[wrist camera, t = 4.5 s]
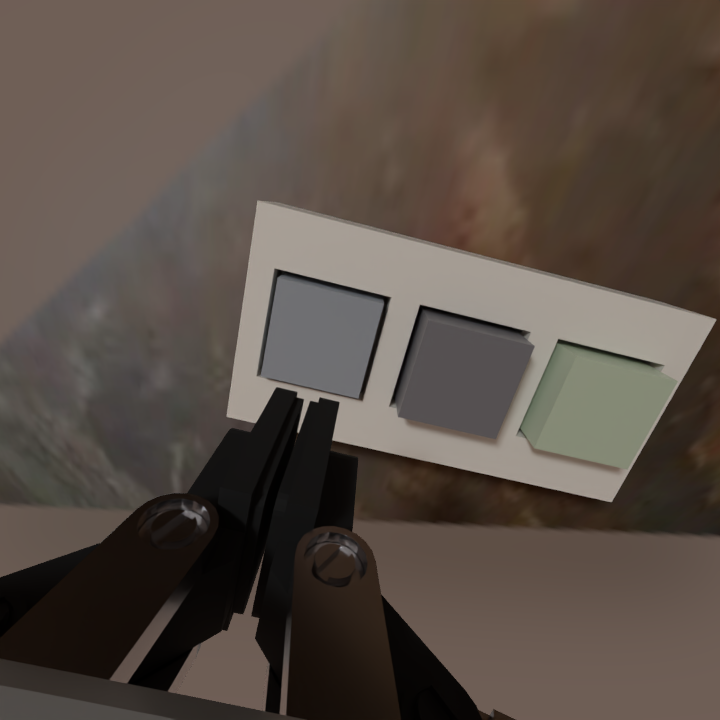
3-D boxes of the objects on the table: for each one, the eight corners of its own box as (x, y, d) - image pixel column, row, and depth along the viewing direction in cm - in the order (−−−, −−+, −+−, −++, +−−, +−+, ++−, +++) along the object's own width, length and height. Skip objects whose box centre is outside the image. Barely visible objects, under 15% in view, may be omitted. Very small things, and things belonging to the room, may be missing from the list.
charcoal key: (512, 327, 21) (535, 346, 18) (480, 410, 23) (495, 439, 20) (420, 304, 21) (428, 319, 18) (394, 391, 22) (397, 417, 20)
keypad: (659, 301, 23) (716, 319, 19) (577, 461, 27) (611, 502, 23) (277, 202, 21) (257, 200, 18) (247, 385, 25) (226, 416, 21)
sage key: (637, 358, 21) (677, 381, 19) (596, 438, 23) (627, 469, 20) (548, 336, 21) (576, 356, 18) (513, 418, 23) (533, 448, 20)
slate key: (381, 291, 21) (383, 304, 19) (359, 375, 23) (358, 398, 20) (289, 268, 21) (277, 277, 18) (273, 355, 23) (260, 376, 20)
